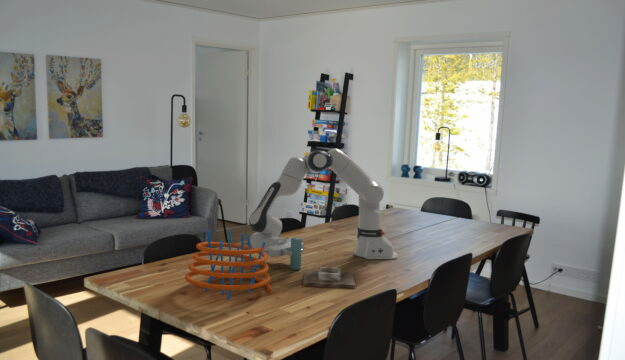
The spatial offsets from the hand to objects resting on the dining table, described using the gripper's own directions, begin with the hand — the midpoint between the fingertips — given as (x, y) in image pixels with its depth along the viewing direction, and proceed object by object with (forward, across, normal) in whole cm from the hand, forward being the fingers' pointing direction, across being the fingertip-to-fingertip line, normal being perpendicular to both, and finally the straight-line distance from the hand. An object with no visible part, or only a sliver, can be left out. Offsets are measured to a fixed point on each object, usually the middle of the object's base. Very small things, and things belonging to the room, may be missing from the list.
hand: (297, 252), depth 242 cm
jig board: (+20, -1, +8) cm, 22 cm away
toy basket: (+1, -41, +8) cm, 42 cm away
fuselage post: (-1, 0, +8) cm, 8 cm away
